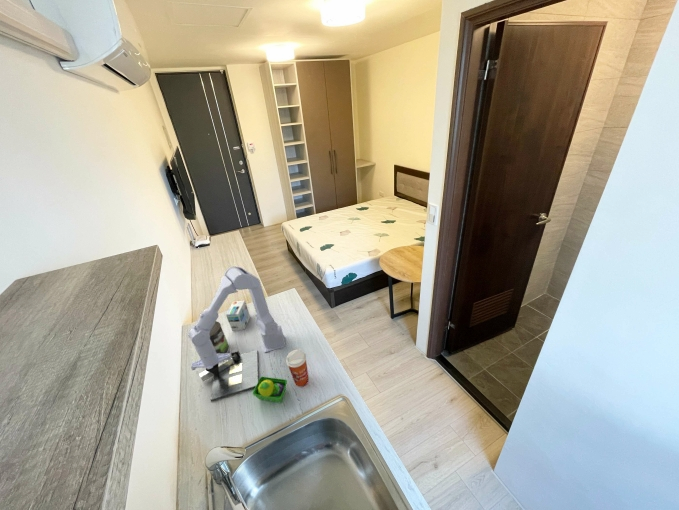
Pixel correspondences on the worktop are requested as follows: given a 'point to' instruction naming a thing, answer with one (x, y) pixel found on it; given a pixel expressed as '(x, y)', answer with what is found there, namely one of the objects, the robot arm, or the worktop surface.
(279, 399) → the fruit basket
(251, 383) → the chassis tray
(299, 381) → the paper cup
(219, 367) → the swing bar
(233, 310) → the light bulb box
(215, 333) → the coffee can
